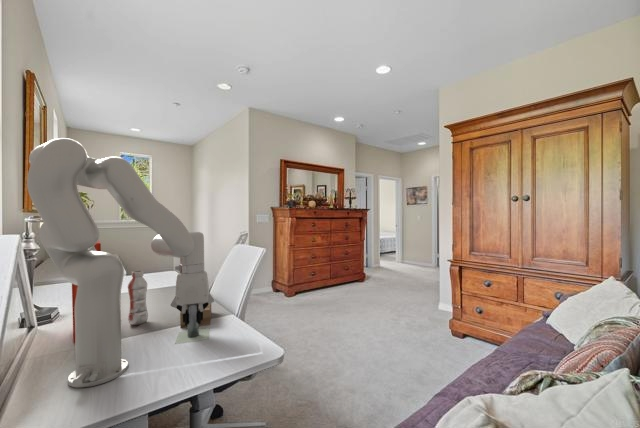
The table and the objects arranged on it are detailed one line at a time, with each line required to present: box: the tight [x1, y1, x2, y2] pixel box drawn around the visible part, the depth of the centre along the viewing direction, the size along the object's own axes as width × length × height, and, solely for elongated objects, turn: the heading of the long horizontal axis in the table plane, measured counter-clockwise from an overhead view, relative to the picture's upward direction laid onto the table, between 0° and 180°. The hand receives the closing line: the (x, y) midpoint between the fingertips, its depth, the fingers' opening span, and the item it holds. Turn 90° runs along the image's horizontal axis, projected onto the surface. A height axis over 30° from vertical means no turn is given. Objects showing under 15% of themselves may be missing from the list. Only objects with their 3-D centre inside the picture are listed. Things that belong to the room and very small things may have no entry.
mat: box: [174, 328, 211, 345], centre depth 99 cm, size 10×10×1 cm
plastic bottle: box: [127, 270, 149, 326], centre depth 112 cm, size 6×7×20 cm
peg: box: [186, 304, 200, 338], centre depth 99 cm, size 4×4×14 cm
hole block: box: [179, 299, 212, 329], centre depth 115 cm, size 16×10×6 cm, turn 19°
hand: (193, 322), depth 99 cm, fingers closed on peg, 3 cm apart
